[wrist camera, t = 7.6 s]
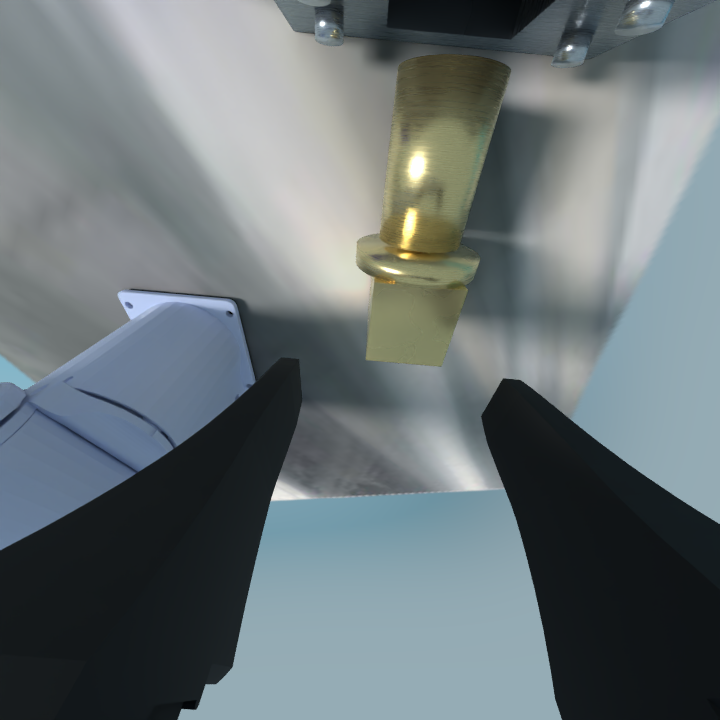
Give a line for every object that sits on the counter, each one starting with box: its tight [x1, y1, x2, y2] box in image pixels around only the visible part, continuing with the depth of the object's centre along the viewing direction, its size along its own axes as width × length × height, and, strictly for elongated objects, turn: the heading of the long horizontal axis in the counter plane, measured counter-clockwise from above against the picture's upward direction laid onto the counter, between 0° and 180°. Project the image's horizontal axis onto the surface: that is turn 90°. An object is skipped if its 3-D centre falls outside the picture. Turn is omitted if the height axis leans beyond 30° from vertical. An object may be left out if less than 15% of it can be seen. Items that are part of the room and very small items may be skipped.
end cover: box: [356, 54, 511, 367], centre depth 12 cm, size 10×6×6 cm, turn 176°
